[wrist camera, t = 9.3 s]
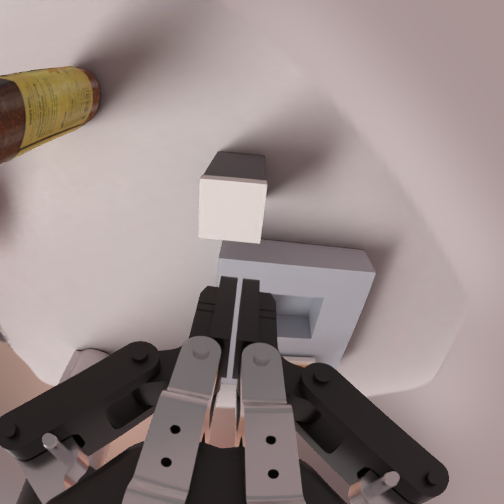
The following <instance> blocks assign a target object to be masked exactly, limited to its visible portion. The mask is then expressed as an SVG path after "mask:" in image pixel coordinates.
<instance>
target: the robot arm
mask: <svg viewBox="0 0 504 504" xmlns="http://www.w3.org/2000/svg"><path fill="white" fill-rule="evenodd" d="M237 282H238V278H237V277H229V276H221V279H220V284H219V287H213V286H207V287H206V288H205V289H204V290H203V291H202V292H201V293H200V297H199V301H198V305H197V309H196V313H195V316H194V320H193V324H192V328H191V332H190V336H189V339H188V340H186V341H185V342H184V344H183V345H182V346H181V347H179V348H176V349H172V350H164V351H158V350H157V349H156V347H155V346H153V345H152V344H150V343H148V342H142V341H138V342H133V343H130V344H128V345H127V346H125V347H123V348H121V349H120V350H118V351H116V352H114V353H113V354H111V355H109V354H107V353H105V352H102V351H99V350H94V349H86V350H83V351H75V352H74V354H73V356H72V357H71V359H70V361H69V363H68V365H67V367H66V369H65V371H64V373H63V375H62V377H61V379H60V381H59V383H58V385H57V386H55V387H53V388H51V389H50V390H48V391H46V392H44V393H42V394H41V395H39V396H37V397H35V398H33V399H32V400H30V401H28V402H26V403H24V404H23V405H21V406H19V407H17V408H15V409H14V410H12V411H10V412H8V413H6V414H4V415H3V416H1V417H0V445H1V446H2V447H3V448H4V449H5V450H6V451H8V452H9V453H10V455H11V456H12V457H14V458H15V459H16V460H17V461H18V463H19V465H20V467H21V468H22V470H23V472H24V474H25V476H26V477H27V478H26V481H25V483H24V485H23V488H22V491H21V493H20V496H19V498H18V501H17V503H16V504H347V503H346V502H345V501H344V500H343V499H342V498H341V497H340V496H339V495H338V494H337V493H336V492H335V491H334V490H333V489H332V488H331V487H330V486H329V485H328V484H327V483H326V482H325V481H324V480H323V479H322V478H321V476H320V475H318V473H317V472H316V471H315V470H314V469H313V468H312V467H311V466H309V465H308V464H307V463H306V462H304V461H302V460H301V459H299V458H298V450H297V441H296V433H295V430H296V431H297V432H298V433H299V434H300V435H301V436H302V438H303V439H304V440H305V441H306V442H307V443H308V444H309V445H310V446H311V447H312V448H313V449H314V450H315V451H316V452H317V453H318V454H319V455H320V456H321V457H322V458H323V459H324V460H325V461H326V462H327V463H328V464H329V465H330V466H331V467H332V468H333V469H334V470H335V471H336V472H337V473H338V474H339V475H340V476H341V477H342V478H343V479H344V480H345V481H346V482H347V483H348V484H349V485H350V486H351V487H350V489H349V493H348V497H349V501H350V503H351V504H422V503H424V502H426V501H428V500H430V499H432V498H434V497H436V496H438V495H440V494H441V493H443V492H444V490H445V489H446V487H447V485H448V482H449V475H448V471H447V469H446V468H445V466H444V465H443V464H442V463H441V462H439V461H438V460H437V459H436V458H435V457H433V456H432V455H431V454H430V453H429V452H428V451H426V450H425V449H424V448H423V447H422V446H421V445H419V444H418V443H417V442H416V441H415V440H413V438H411V437H410V436H409V435H408V434H407V433H406V432H405V431H403V430H402V429H401V428H400V427H399V426H398V425H396V424H395V423H394V422H393V421H392V420H391V419H390V418H389V417H388V416H386V415H385V414H384V413H383V412H382V411H381V410H380V409H378V408H377V407H376V406H375V405H374V404H373V403H372V402H371V401H370V400H369V399H367V398H366V397H365V396H364V395H363V394H362V393H361V392H360V391H359V390H357V389H356V388H355V387H354V386H353V385H352V384H351V383H350V382H349V381H348V380H346V379H345V378H344V377H343V376H342V375H341V374H340V373H339V372H338V371H337V370H336V369H334V368H333V367H332V366H330V365H328V364H325V363H320V362H316V363H312V364H309V365H308V366H306V367H305V368H304V367H301V366H298V365H295V364H293V363H290V362H289V361H287V360H286V359H284V358H283V357H282V355H281V354H280V352H279V350H278V341H277V320H276V319H277V314H276V301H275V299H274V298H273V296H272V294H271V293H265V292H260V280H255V279H246V278H243V281H242V289H241V297H240V305H239V314H238V324H237V334H236V344H235V354H234V364H233V375H232V379H237V389H236V396H235V447H233V448H218V447H215V446H212V445H209V437H210V431H211V426H212V421H213V416H214V412H215V407H216V402H217V397H218V392H219V390H220V385H221V378H227V370H228V361H229V352H230V344H231V335H232V326H233V318H234V309H235V300H236V291H237ZM153 413H154V414H153ZM152 414H153V418H152V420H151V424H150V426H149V430H148V433H147V436H146V439H145V441H143V442H140V443H138V444H135V445H133V446H131V447H129V448H128V449H126V450H125V451H123V452H122V453H121V454H119V455H118V456H116V457H115V458H113V459H112V460H110V461H109V462H108V463H106V464H105V461H106V458H107V454H108V450H109V447H110V444H111V442H112V441H113V440H115V439H117V438H118V437H119V436H121V435H123V434H124V433H126V432H127V431H129V430H130V429H131V428H133V427H134V426H136V425H137V424H139V423H140V422H142V421H143V420H145V419H146V418H148V417H149V416H150V415H152Z"/></svg>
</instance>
